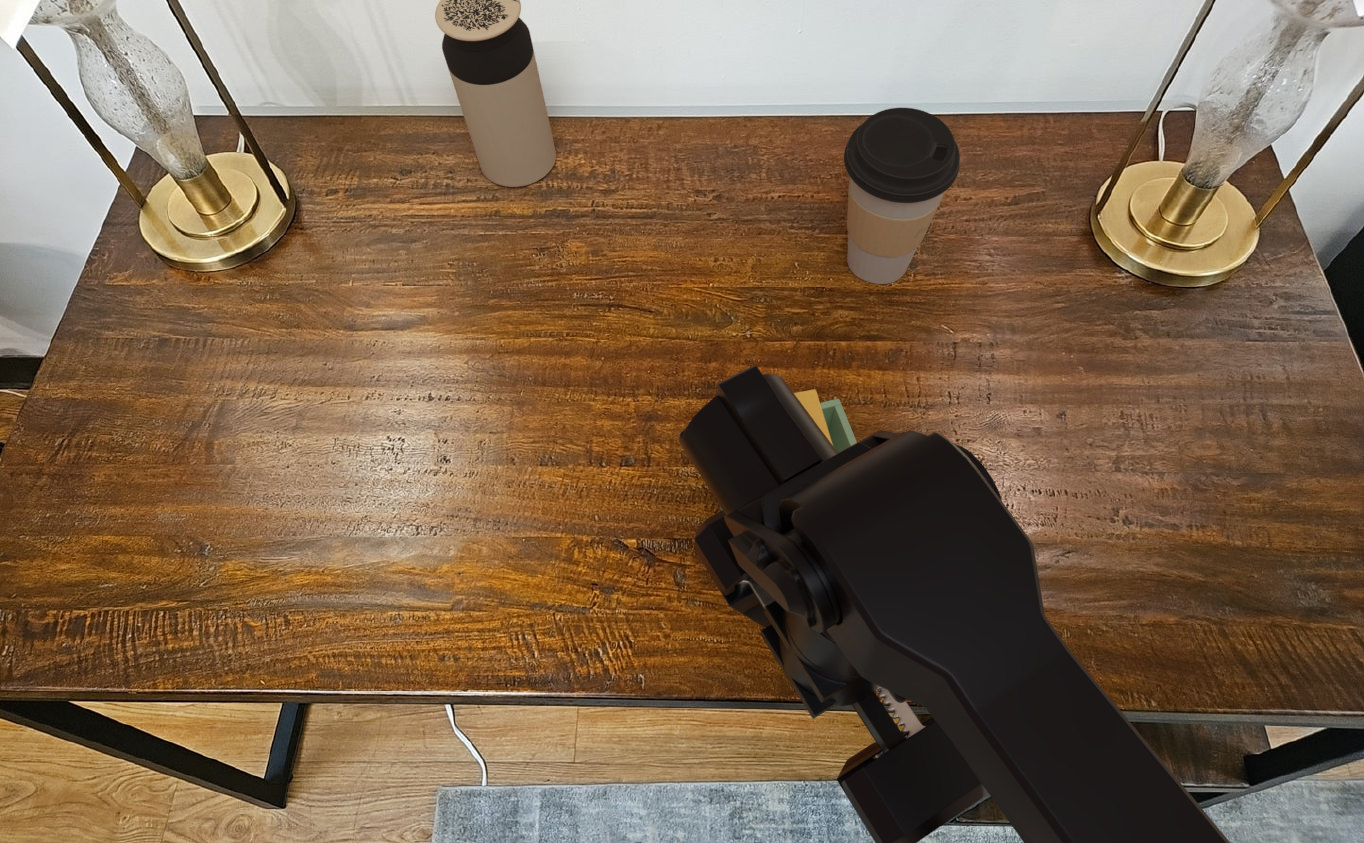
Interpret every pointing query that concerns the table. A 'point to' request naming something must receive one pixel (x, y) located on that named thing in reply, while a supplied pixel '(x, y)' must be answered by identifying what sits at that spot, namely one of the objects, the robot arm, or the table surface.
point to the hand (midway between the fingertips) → (815, 687)
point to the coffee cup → (895, 188)
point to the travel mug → (498, 88)
